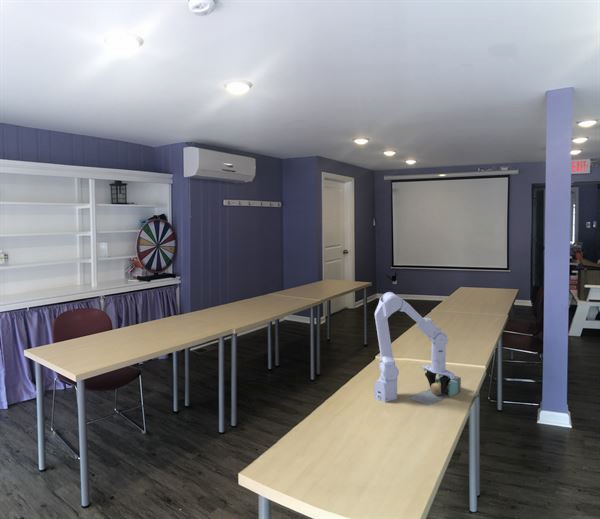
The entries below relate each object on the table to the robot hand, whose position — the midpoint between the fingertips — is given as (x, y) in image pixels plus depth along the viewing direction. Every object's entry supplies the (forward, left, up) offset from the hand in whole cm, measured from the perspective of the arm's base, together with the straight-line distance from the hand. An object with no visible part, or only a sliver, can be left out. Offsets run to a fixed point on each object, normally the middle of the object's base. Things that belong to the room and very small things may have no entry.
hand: (438, 391), depth 188 cm
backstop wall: (+9, +1, -2) cm, 10 cm away
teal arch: (+5, 0, -2) cm, 6 cm away
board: (-2, +1, -2) cm, 3 cm away
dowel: (+2, 0, -1) cm, 2 cm away
